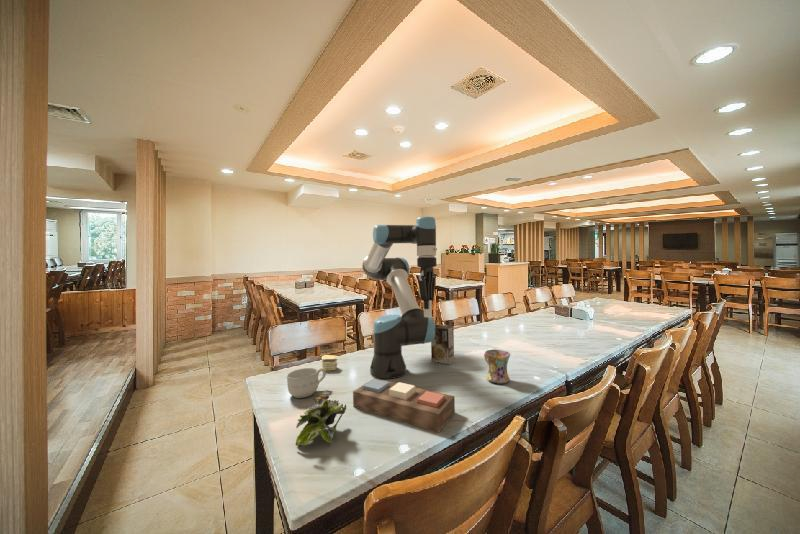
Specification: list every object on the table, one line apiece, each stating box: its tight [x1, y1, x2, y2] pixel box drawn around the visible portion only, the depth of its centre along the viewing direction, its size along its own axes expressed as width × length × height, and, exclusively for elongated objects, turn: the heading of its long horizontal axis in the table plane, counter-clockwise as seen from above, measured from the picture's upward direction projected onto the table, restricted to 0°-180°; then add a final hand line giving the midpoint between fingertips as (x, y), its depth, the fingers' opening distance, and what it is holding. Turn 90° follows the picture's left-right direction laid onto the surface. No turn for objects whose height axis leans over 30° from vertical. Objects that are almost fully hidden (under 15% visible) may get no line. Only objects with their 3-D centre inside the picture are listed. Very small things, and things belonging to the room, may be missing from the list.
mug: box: [483, 349, 511, 384], centre depth 116 cm, size 12×9×11 cm
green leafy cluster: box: [295, 395, 347, 447], centre depth 80 cm, size 13×12×14 cm
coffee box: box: [430, 323, 455, 365], centre depth 138 cm, size 9×6×16 cm
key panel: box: [352, 377, 456, 433], centre depth 94 cm, size 30×12×5 cm, turn 59°
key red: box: [418, 390, 445, 408], centre depth 89 cm, size 6×6×4 cm
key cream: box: [389, 381, 416, 400], centre depth 94 cm, size 6×6×4 cm
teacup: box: [286, 367, 327, 399], centre depth 108 cm, size 14×11×8 cm
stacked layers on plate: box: [321, 354, 338, 372], centre depth 131 cm, size 10×9×6 cm
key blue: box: [363, 378, 390, 393], centre depth 100 cm, size 6×6×4 cm
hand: (427, 316), depth 118 cm, fingers closed
